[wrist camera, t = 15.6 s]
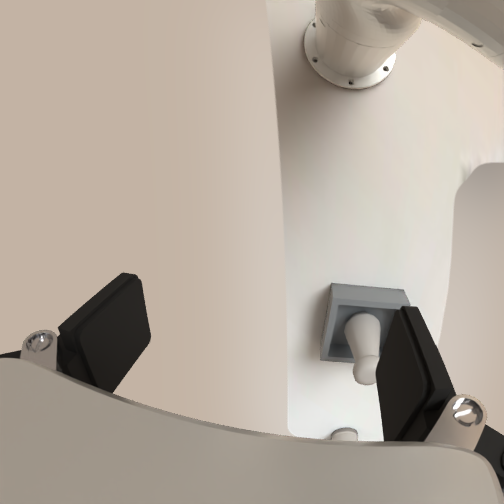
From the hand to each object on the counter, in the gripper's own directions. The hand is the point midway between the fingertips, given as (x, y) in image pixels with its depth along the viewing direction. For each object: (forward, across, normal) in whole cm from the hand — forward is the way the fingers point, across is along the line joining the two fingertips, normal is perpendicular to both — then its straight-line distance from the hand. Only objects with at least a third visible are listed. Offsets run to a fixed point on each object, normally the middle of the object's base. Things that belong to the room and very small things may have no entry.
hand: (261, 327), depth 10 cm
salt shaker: (+32, -12, +21) cm, 40 cm away
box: (+33, -12, +21) cm, 41 cm away
